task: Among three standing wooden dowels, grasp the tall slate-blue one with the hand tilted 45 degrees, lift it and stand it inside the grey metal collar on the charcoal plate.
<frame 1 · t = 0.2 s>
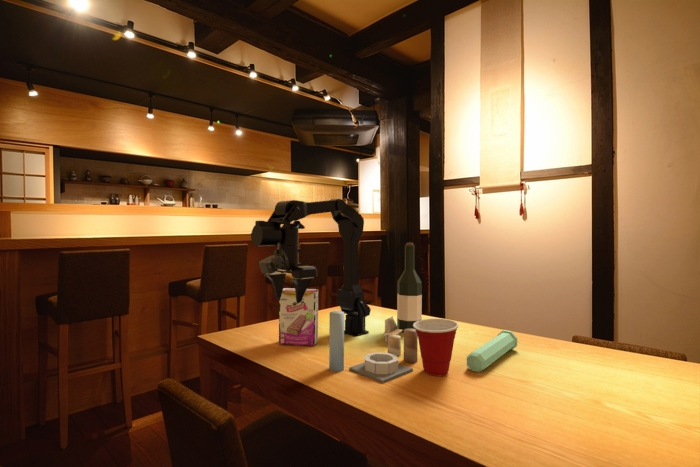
hand: (288, 300, 108), 14 cm above the table, tool pointing down, fingers open, 9 cm apart
short dowel: (394, 354, 105), on the table
wine bottle: (409, 330, 131), on the table
plastic cup: (435, 372, 93), on the table
medium dowel: (410, 360, 101), on the table
socket: (381, 370, 93), on the table
architectural model: (391, 343, 118), on the table
long dowel: (336, 369, 94), on the table
candy bar box: (298, 344, 115), on the table
container: (491, 360, 102), on the table
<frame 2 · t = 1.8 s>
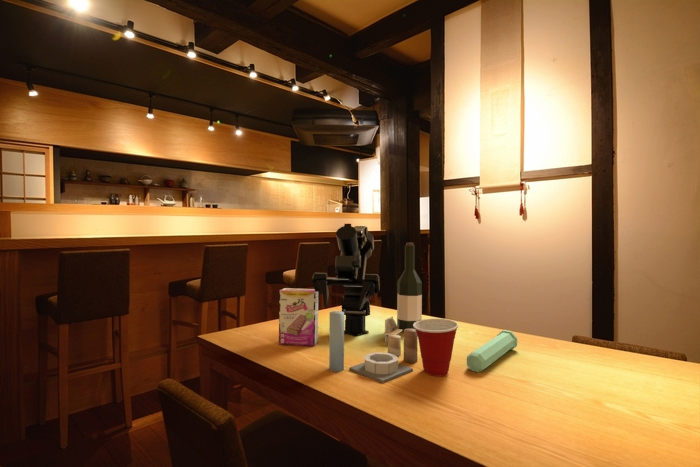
hand: (342, 308, 102), 13 cm above the table, tool tilted 45°, fingers open, 9 cm apart
nothing on the table moved.
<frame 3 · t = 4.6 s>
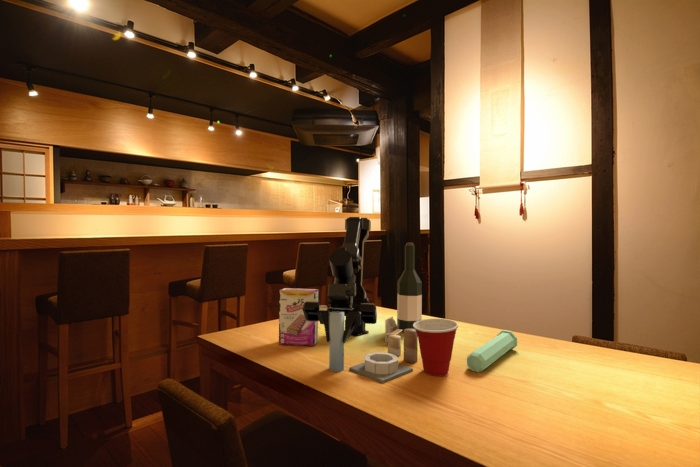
hand: (335, 342, 93), 7 cm above the table, tool tilted 45°, fingers closed on long dowel, 4 cm apart
long dowel: (336, 369, 94), on the table, touching gripper
everything else where it was.
when the fingers open (9 cm above the table, at t = 7.6 s): long dowel drops 1 cm, resting on socket.
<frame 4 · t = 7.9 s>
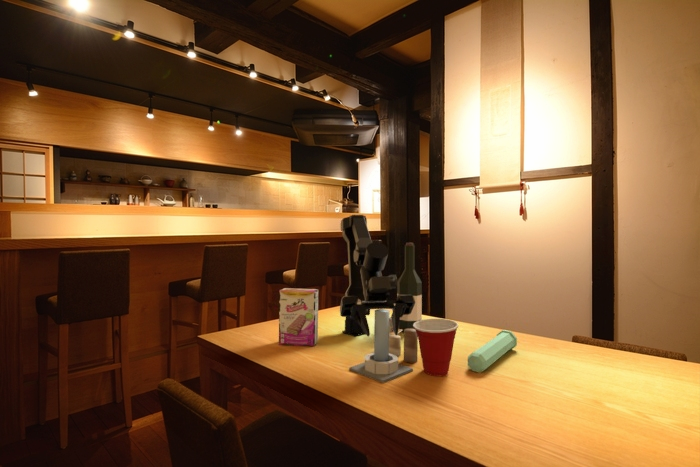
hand: (382, 335, 92), 9 cm above the table, tool tilted 45°, fingers open, 7 cm apart
long dowel: (381, 367, 93), point 1 cm above the table, touching socket
everything else where it was.
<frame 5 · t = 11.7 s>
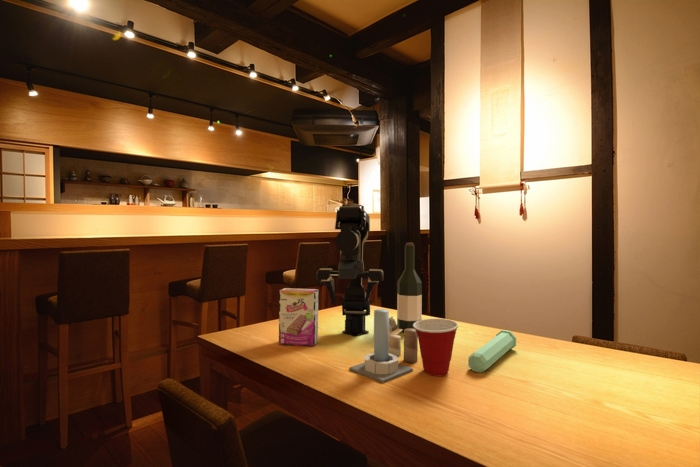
hand: (349, 304, 109), 13 cm above the table, tool pointing down, fingers open, 9 cm apart
nothing on the table moved.
at the end: long dowel 0.0 cm off-centre on the socket, point 0.6 cm above the socket's base; long dowel tilted 0°; the gripper is holding nothing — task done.
